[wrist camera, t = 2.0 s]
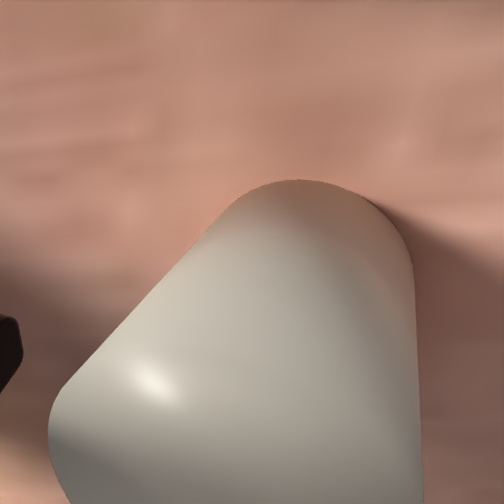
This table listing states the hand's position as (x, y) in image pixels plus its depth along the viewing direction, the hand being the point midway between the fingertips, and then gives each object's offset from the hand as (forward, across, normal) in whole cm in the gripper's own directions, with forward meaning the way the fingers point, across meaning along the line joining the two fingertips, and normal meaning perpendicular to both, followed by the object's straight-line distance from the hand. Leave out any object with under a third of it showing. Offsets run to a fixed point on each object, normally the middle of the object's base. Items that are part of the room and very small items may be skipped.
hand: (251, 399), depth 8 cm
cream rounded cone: (+4, 0, 0) cm, 4 cm away
